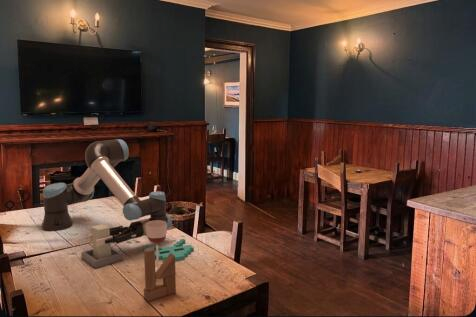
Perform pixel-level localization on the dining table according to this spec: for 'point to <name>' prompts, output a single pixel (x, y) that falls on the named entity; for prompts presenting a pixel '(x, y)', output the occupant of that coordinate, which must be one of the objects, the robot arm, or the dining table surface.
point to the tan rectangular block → (100, 233)
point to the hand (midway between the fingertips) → (92, 240)
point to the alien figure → (173, 251)
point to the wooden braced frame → (158, 276)
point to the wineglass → (156, 234)
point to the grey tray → (95, 263)
